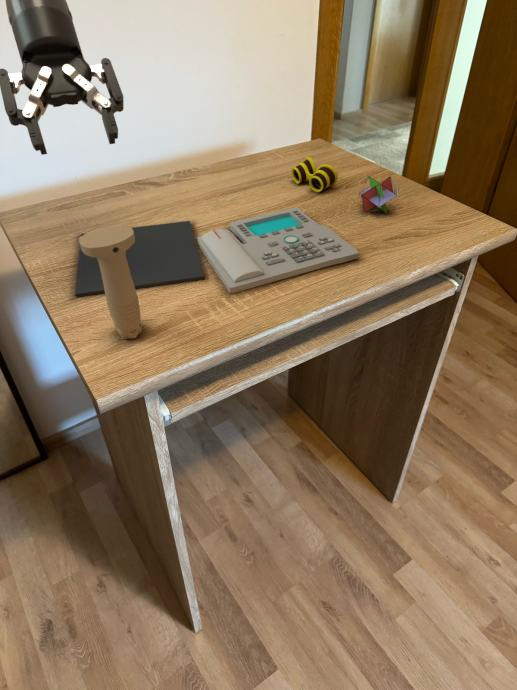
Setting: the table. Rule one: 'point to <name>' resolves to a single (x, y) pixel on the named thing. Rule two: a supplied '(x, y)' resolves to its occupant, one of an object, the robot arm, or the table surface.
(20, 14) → the robot arm
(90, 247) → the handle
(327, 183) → the opera glasses
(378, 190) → the geometric puzzle
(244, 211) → the table surface
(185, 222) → the mat
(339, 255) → the office telephone
